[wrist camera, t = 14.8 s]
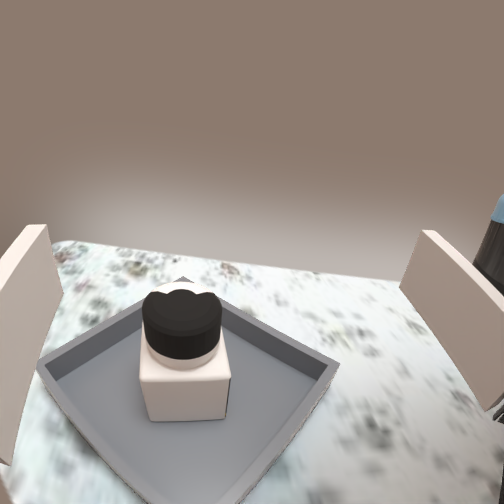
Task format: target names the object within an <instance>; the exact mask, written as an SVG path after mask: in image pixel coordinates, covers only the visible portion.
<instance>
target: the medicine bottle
mask: <svg viewBox="0 0 504 504" xmlns="http://www.w3.org/2000/svg"><path fill="white" fill-rule="evenodd" d="M142 317H143V322H142V335H141V351H140V372H139V379H140V383H141V388H142V392H143V396H144V400H145V404H146V408H147V411H148V415H149V419H150V420H151V421H153V422H167V421H199V420H215V419H224V418H225V417H226V412H227V404H228V397H229V389H230V381H231V372H230V367H229V362H228V357H227V352H226V347H225V342H224V337H223V332H222V327H221V322H222V304H221V302H220V300H219V299H218V297H217V296H216V295H215V294H214V293H213V292H212V291H210V290H209V289H207V288H206V287H204V286H202V285H199V284H195V283H191V282H172V283H167V284H164V285H161V286H159V287H157V288H156V289H154V290H153V291H152V292H150V293H149V294H148V296H147V297H146V298H145V299H144V301H143V304H142Z"/></svg>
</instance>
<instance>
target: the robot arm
mask: <svg viewBox="0 0 504 504" xmlns="http://www.w3.org/2000/svg"><path fill="white" fill-rule="evenodd" d="M399 288H400V290H401V291H402V292H403V293H404V295H405V296H406V297H407V299H408V300H409V301H410V303H411V304H412V305H413V307H414V308H415V309H416V311H417V312H418V313H419V315H420V316H421V317H422V319H423V320H424V321H425V323H426V324H427V325H428V327H429V328H430V330H431V331H432V332H433V334H434V335H435V337H436V338H437V339H438V341H439V342H440V344H441V345H442V347H443V348H444V349H445V351H446V352H447V354H448V355H449V357H450V358H451V360H452V361H453V363H454V364H455V366H456V367H457V369H458V370H459V372H460V373H461V375H462V376H463V378H464V379H465V381H466V382H467V384H468V385H469V387H470V389H471V390H472V392H473V393H474V395H475V397H476V398H477V400H478V401H479V403H480V405H481V406H482V408H483V410H484V411H485V412H486V411H488V410H489V409H491V408H493V407H495V406H496V405H498V404H499V403H500V402H501V401H502V399H503V398H504V194H503V195H502V196H501V197H500V198H499V200H498V203H497V205H496V207H495V210H494V212H493V214H492V215H491V221H490V224H489V227H488V229H487V232H486V234H485V236H484V239H483V241H482V243H481V246H480V248H479V250H478V253H477V255H476V257H475V260H474V262H473V264H471V263H470V262H469V261H468V260H466V259H465V258H464V257H463V256H462V255H461V254H460V253H459V252H458V251H457V250H456V249H455V248H453V247H452V246H451V245H450V244H449V243H448V242H447V241H446V240H445V239H443V238H442V237H441V236H440V235H439V234H438V233H437V232H436V231H433V230H421V232H420V234H419V237H418V240H417V243H416V246H415V248H414V251H413V253H412V256H411V259H410V261H409V264H408V266H407V269H406V271H405V274H404V277H403V279H402V281H401V283H400V286H399ZM63 294H64V292H63V289H62V286H61V282H60V279H59V275H58V271H57V267H56V263H55V259H54V255H53V251H52V247H51V243H50V238H49V234H48V229H47V225H46V224H44V225H27V226H26V228H25V229H24V230H23V231H22V233H21V234H20V235H19V236H18V237H17V239H16V240H15V241H14V242H13V244H12V245H11V246H10V247H9V249H8V250H7V251H6V253H5V254H4V255H3V257H2V258H1V259H0V463H2V464H5V465H8V466H11V465H12V459H13V454H14V448H15V443H16V439H17V434H18V430H19V425H20V421H21V417H22V413H23V409H24V405H25V402H26V398H27V395H28V391H29V388H30V384H31V381H32V378H33V374H34V371H35V368H36V365H37V362H38V359H39V356H40V353H41V350H42V348H43V345H44V342H45V339H46V337H47V334H48V331H49V329H50V326H51V323H52V321H53V318H54V316H55V313H56V311H57V309H58V306H59V304H60V301H61V299H62V297H63ZM502 413H504V405H503V406H502V407H501V408H500V409H499V410H498V411H497V412H496V413H495V414H494V416H493V420H494V421H495V420H496V419H497V418H498V417H499V416H500V415H501V414H502ZM498 422H500V423H503V424H504V414H503V415H502V416H501V417H500V418H499V420H498ZM499 504H504V466H503V476H502V485H501V492H500V499H499Z"/></svg>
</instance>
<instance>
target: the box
mask: <svg viewBox="0 0 504 504" xmlns="http://www.w3.org/2000/svg"><path fill="white" fill-rule="evenodd" d="M174 282H191V283H194V282H192V281H190V280H189V279H187V278H185V277H184V276H183V277H181V278H179V279H178V280H176V281H174ZM144 299H145V298H144ZM144 299H142V300H141V301H139V302H137V303H135V304H134V305H132V306H130V307H128V308H127V309H125V310H123V311H121V312H120V313H118V314H116V315H115V316H113V317H111V318H109V319H108V320H106V321H104V322H102V323H101V324H99V325H97V326H95V327H94V328H92V329H90V330H89V331H87V332H85V333H83V334H82V335H80V336H78V337H77V338H75V339H73V340H71V341H70V342H68V343H66V344H65V345H63V346H61V347H59V348H58V349H56V350H54V351H53V352H51V353H49V354H47V355H46V356H44V357H42V358H41V359H39V360H38V362H37V365H36V368H35V369H36V371H37V373H38V374H39V376H40V378H41V380H42V382H43V383H44V385H45V387H46V388H47V390H48V391H49V393H50V394H51V396H52V397H53V399H54V400H55V401H56V403H57V404H58V405H59V407H60V408H61V410H62V411H63V412H64V414H65V415H66V416H67V417H68V419H69V420H70V421H71V423H72V424H73V425H74V426H75V428H76V429H77V430H78V431H79V433H80V434H81V435H82V436H83V437H84V439H85V440H86V441H87V442H88V443H89V444H90V446H91V447H92V448H93V449H94V450H95V451H96V452H97V453H98V455H99V456H100V457H101V458H102V459H103V460H104V461H105V462H106V463H107V464H108V465H109V466H110V467H111V469H112V470H113V471H114V472H115V473H116V474H117V475H118V476H119V477H120V478H121V479H122V480H123V481H124V482H125V483H126V484H127V485H129V486H130V487H131V488H132V489H133V490H134V491H135V492H136V493H137V494H138V495H139V496H140V497H141V498H143V499H144V500H145V501H146V502H147V503H148V504H239V503H240V502H241V501H242V500H243V499H244V498H245V497H246V496H247V494H248V493H249V492H250V491H251V490H252V489H253V487H254V486H255V485H256V484H257V483H258V482H259V480H260V479H261V478H262V477H263V476H264V474H265V473H266V472H267V471H268V470H269V468H270V467H271V466H272V465H273V463H274V462H275V461H276V460H277V458H278V457H279V456H280V455H281V453H282V452H283V451H284V449H285V448H286V447H287V446H288V444H289V443H290V442H291V440H292V439H293V438H294V436H295V435H296V433H297V432H298V431H299V429H300V428H301V427H302V425H303V424H304V422H305V421H306V420H307V418H308V417H309V415H310V414H311V413H312V411H313V410H314V408H315V407H316V405H317V404H318V402H319V401H320V399H321V398H322V396H323V395H324V393H325V392H326V390H327V389H328V387H329V386H330V384H331V382H332V380H333V378H334V376H335V374H336V372H337V370H338V368H339V366H340V363H338V362H336V361H334V360H332V359H331V358H329V357H327V356H325V355H323V354H321V353H319V352H317V351H315V350H313V349H311V348H309V347H307V346H306V345H304V344H302V343H300V342H298V341H296V340H294V339H292V338H291V337H289V336H287V335H285V334H283V333H281V332H279V331H278V330H276V329H274V328H272V327H270V326H268V325H267V324H265V323H263V322H261V321H259V320H258V319H256V318H254V317H252V316H251V315H249V314H247V313H245V312H243V311H242V310H240V309H238V308H236V307H235V306H233V305H231V304H229V303H228V302H226V301H224V300H222V299H221V298H219V297H218V299H219V300H220V302H221V304H222V322H221V327H222V332H223V337H224V342H225V347H226V352H227V357H228V362H229V367H230V372H231V381H230V389H229V397H228V404H227V412H226V417H225V418H224V419H215V420H199V421H167V422H153V421H151V420H150V419H149V415H148V411H147V408H146V404H145V400H144V396H143V392H142V388H141V383H140V379H139V372H140V351H141V335H142V322H143V317H142V304H143V301H144Z"/></svg>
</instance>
